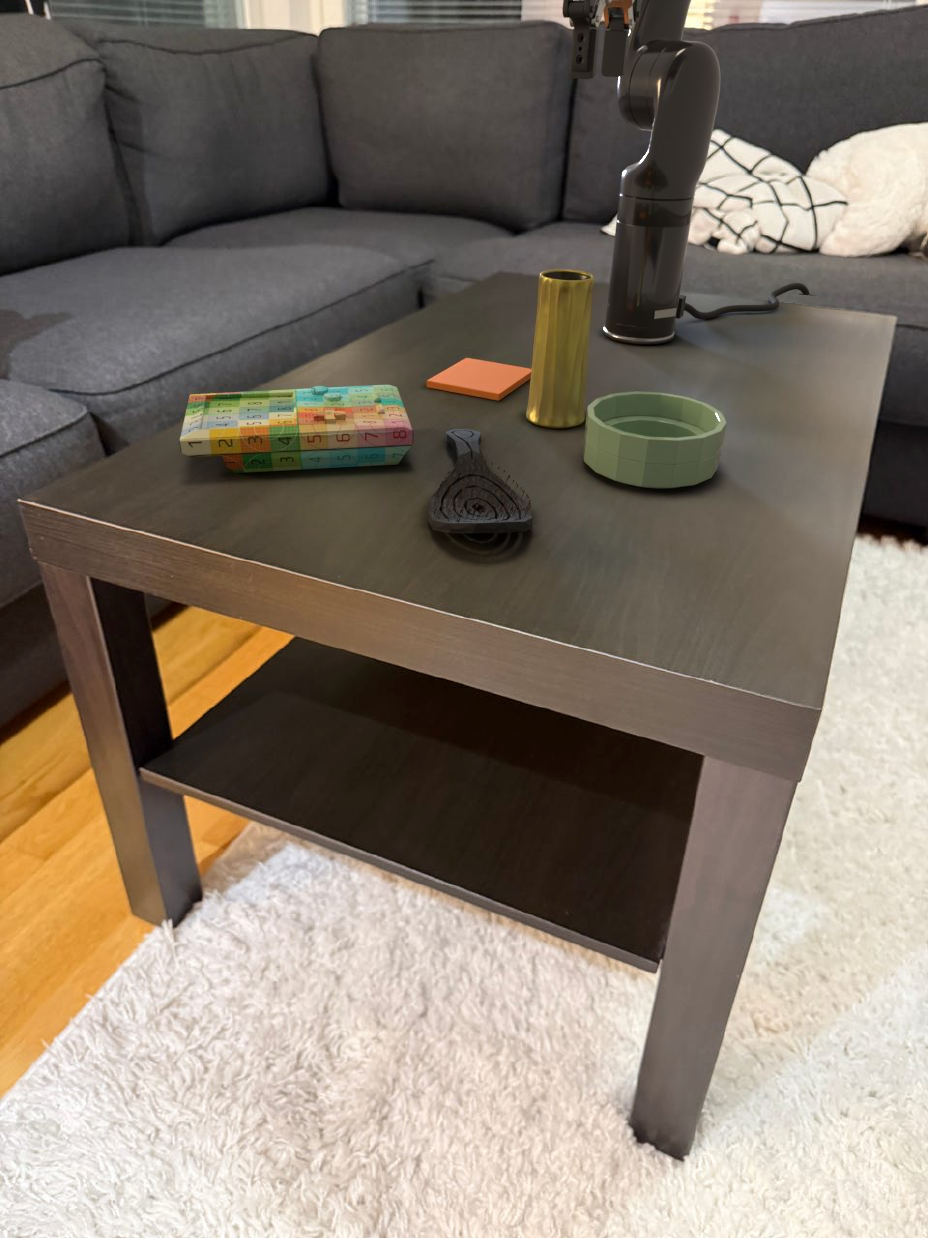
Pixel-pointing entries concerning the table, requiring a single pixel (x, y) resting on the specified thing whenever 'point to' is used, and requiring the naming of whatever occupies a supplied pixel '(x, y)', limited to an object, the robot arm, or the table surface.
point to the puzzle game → (298, 428)
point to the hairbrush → (476, 494)
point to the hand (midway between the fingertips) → (597, 77)
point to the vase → (560, 349)
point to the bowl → (653, 439)
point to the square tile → (480, 378)
